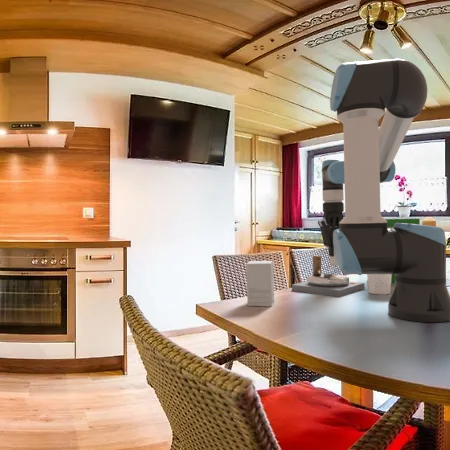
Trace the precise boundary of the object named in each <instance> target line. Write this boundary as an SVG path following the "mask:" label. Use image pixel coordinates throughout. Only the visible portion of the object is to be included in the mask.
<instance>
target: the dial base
mask: <svg viewBox="0 0 450 450" xmlns="http://www.w3.org/2000/svg"><path fill="white" fill-rule="evenodd" d="M365 287H366V286H365V282H359V281H350V280H349V284H348V285H345V286H316V285H311V284H308V280H306V281H302V282H298V283H293V284H291V291H293V290H294V291H293V292H302V293H309V294H316V295H322V296H323V295H324V296H331V297H338V298H340V297H342V296H346V295H349V294H352V293H356V292H359V291H362V290H364V289H365Z"/></svg>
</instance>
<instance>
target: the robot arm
mask: <svg viewBox="0 0 450 450" xmlns="http://www.w3.org/2000/svg"><path fill="white" fill-rule="evenodd" d="M330 91H331V92H330V99H329V108H330V110H331V111H333V112H336V119H337V120H338V121H339V122H340V123H341V124H342V127H343V129H342V131H343V160H341V159H337V158H335V159H333V158H332V159H326V160H323V161H322V163H321V165H322V166H321V177H322V179H321V181H322V201H323V202H322V213H323V215H322V216H323V217H322V219H320V220H318V221H317V224H318V226H319V228H320V233H321V238H322V242H323V246H324V247H326V248H328V257H329V262H330V263H329V265H330V266H336V267H337V266H338V268H339V269H340V271H341V273H343V274H347V275H358V276H362V275H367V274H395V283H394V286H393V289H392V291H391V294H390V299H389V300H388V304H387V307H388V308H387V310H388V311H387V312H388V315H390V316H391V317H394V318H397V319H401V320H405V321H413V322H421V323H444V322H450V293H449V291H448V287H447V245H448V244H447V243H446V232H445V231H444V229H443V228H442V227H439V226H436V225H435V226H434V225H426V224H420V225H417V224H406V223H395V224H394V226H393V228H392V229H388V228H387V221H386V220H385V219H386V218H384V217H383V216H382V214H381V184H382V183H388V182H389V183H390V182H392V181H393V180H394V179H395V176H396V175H395V174H396V165H395V162H394V159H395V157H396V156H397V154H398V151H399V149H400V148H401V145H402V143H403V141H404V139H405V137H406V135H407V133H408V131H409V128H410V127H411V124H412V122H413V120H414V119H415V118H416V117H418V116H419V115H420V114H421V113H422V111H423V109H424V107H425V104H426V102H427V97H428V83H427V80H426V77H425V75H424V72H422V70H421V68H420V67H418V66H417V65H416V64H415V63H413V62H412V61H410V60H407V59H401V58H394V59H380V60H368V61H367V60H365V61H357V60H355V61H353V62H344V63H341V64H339V65H338V66H337V68H336V70H335V72H334V75H333V80H332V85H331V90H330ZM382 117H383V118H382ZM381 119H382V121H381V124H380V126H379V123H380V122H379V121H380V120H381ZM343 201H344V202H343ZM343 213H345V215H344V214H343Z"/></svg>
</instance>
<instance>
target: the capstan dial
mask: <svg viewBox="0 0 450 450" xmlns="http://www.w3.org/2000/svg"><path fill="white" fill-rule="evenodd" d="M307 281H308V284H311V285H316V286H345V285H348V284H349V281H350V276H347V275H342V274H332V273H323V274H322V255H312V274H311V275H309V276H307Z"/></svg>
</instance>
